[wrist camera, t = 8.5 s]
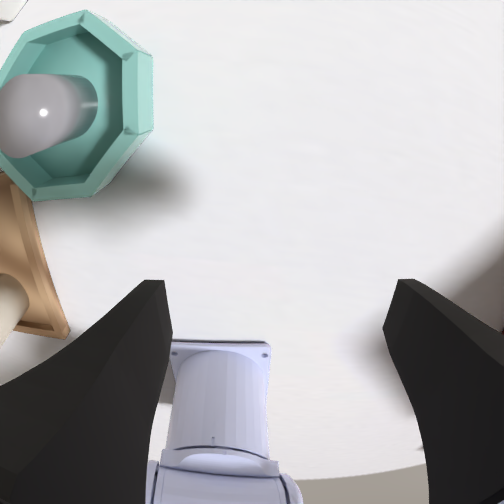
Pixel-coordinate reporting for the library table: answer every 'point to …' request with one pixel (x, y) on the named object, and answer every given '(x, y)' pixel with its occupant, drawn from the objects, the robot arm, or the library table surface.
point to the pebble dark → (44, 112)
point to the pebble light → (11, 305)
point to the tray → (28, 263)
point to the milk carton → (10, 9)
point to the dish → (109, 104)
